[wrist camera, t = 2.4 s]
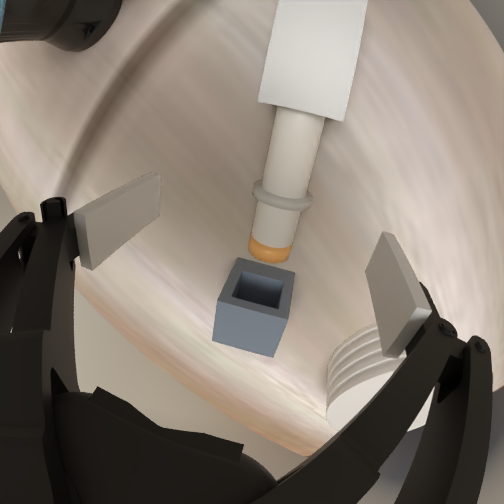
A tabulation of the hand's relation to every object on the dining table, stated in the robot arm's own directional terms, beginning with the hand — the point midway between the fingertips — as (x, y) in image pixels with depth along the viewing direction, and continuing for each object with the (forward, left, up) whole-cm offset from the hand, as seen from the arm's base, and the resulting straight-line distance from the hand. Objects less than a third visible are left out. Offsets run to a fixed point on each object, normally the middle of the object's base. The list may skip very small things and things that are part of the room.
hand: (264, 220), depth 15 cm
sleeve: (0, +14, -21) cm, 26 cm away
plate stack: (+31, -33, -22) cm, 50 cm away
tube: (0, +5, -19) cm, 19 cm away
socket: (0, -21, -21) cm, 30 cm away
